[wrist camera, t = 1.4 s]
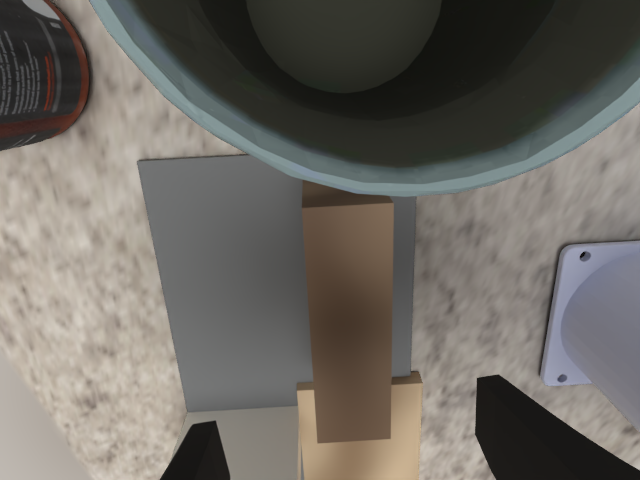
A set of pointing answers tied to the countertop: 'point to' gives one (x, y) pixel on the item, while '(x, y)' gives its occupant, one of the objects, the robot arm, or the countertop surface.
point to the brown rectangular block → (349, 310)
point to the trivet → (372, 455)
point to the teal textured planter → (390, 82)
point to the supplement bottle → (38, 73)
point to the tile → (256, 441)
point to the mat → (248, 279)
